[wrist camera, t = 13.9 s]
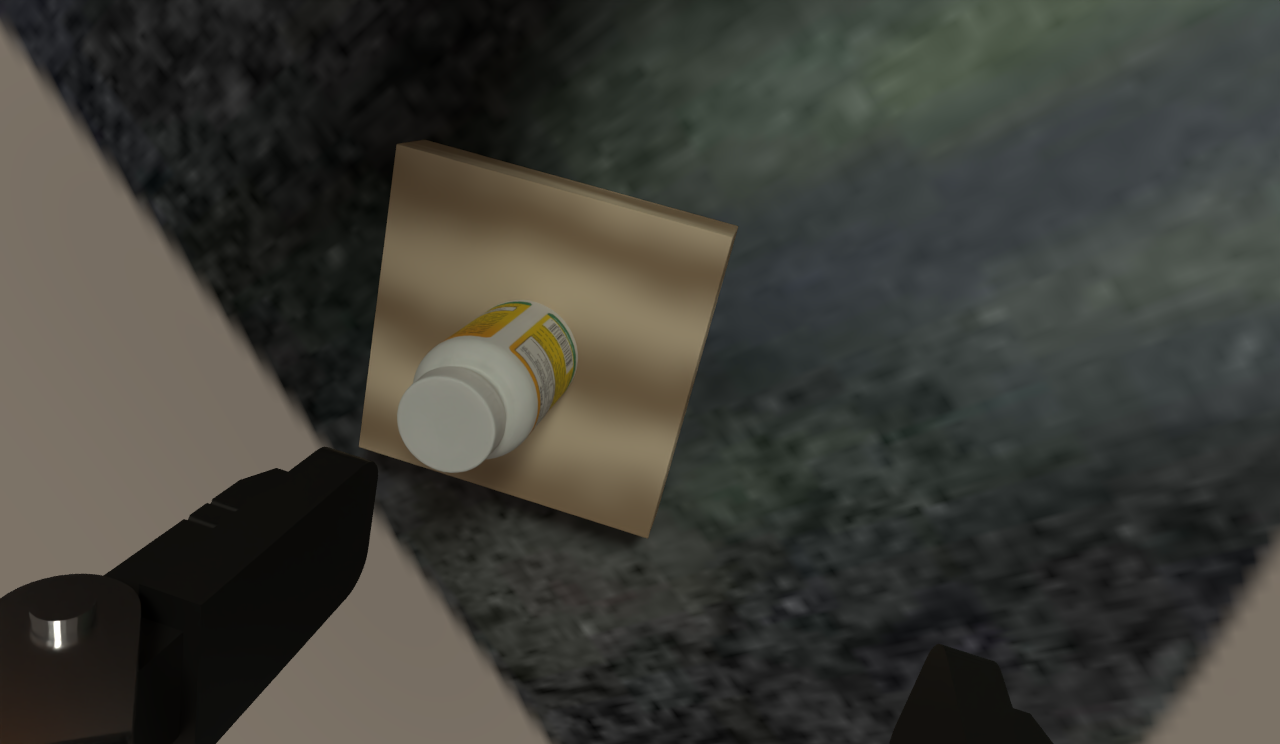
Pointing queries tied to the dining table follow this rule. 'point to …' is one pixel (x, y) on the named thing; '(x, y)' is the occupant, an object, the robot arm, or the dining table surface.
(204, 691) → the robot arm
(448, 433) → the supplement bottle
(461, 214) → the birch plinth
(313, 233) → the dining table surface
